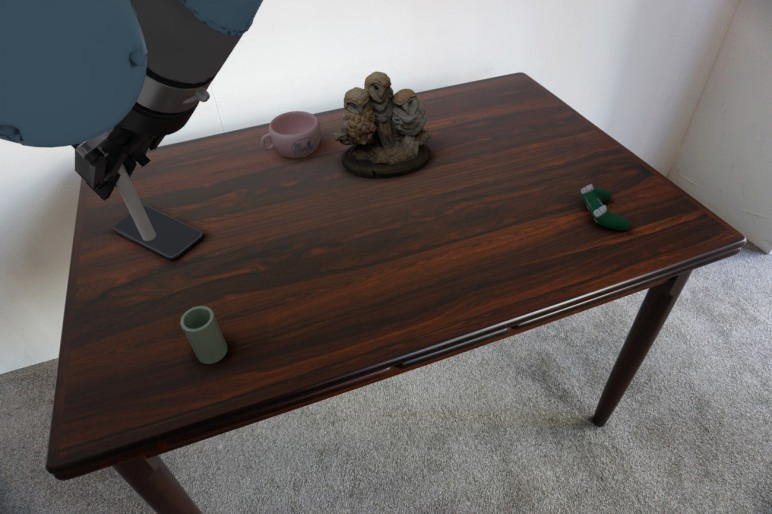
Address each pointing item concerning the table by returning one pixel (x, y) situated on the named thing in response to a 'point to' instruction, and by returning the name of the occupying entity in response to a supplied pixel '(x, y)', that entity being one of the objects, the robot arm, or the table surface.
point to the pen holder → (204, 334)
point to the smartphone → (161, 234)
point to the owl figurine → (383, 130)
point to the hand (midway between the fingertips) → (105, 184)
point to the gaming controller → (602, 208)
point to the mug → (294, 134)
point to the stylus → (134, 205)
